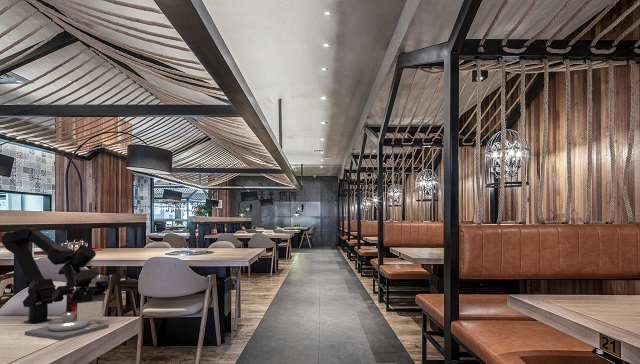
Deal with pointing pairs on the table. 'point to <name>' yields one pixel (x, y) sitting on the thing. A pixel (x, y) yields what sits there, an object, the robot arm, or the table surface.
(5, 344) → the table surface
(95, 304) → the dial
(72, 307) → the canned food
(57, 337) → the panel
